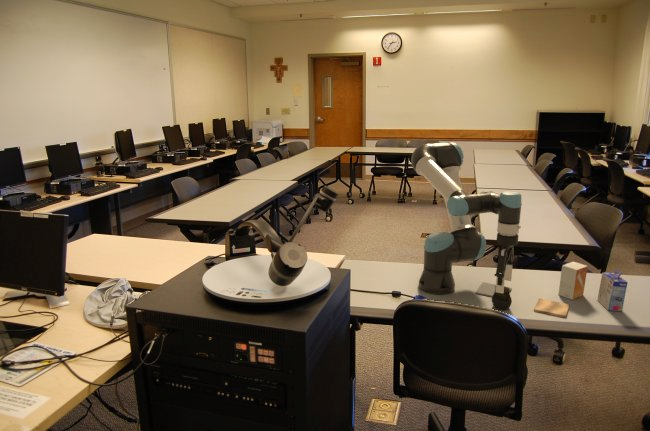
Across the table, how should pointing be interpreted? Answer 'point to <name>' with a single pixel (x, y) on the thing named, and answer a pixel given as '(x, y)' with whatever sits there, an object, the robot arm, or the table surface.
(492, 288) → the felt pad
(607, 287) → the ink cartridge box
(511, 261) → the robot arm
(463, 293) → the table surface
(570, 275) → the small box
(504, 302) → the mate gourd
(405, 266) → the table surface
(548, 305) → the square wooden coaster
